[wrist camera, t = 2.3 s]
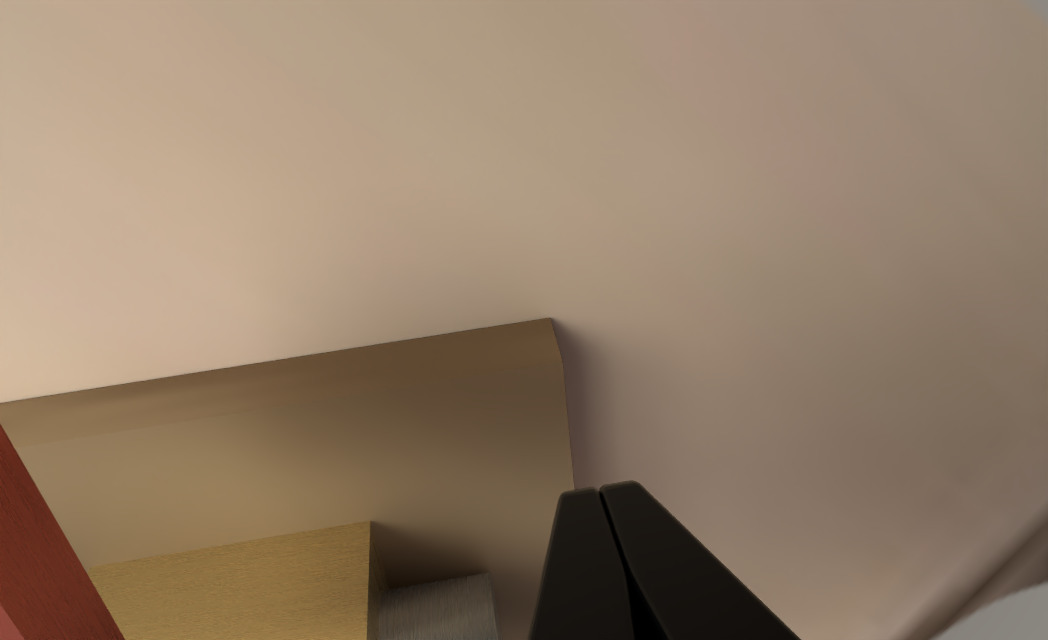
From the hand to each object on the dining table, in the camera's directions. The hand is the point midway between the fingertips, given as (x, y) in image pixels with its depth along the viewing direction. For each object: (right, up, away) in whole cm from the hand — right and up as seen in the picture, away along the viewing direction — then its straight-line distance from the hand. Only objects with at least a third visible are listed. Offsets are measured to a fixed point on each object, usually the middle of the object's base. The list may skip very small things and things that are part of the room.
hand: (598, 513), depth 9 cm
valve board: (-7, -4, +11) cm, 13 cm away
